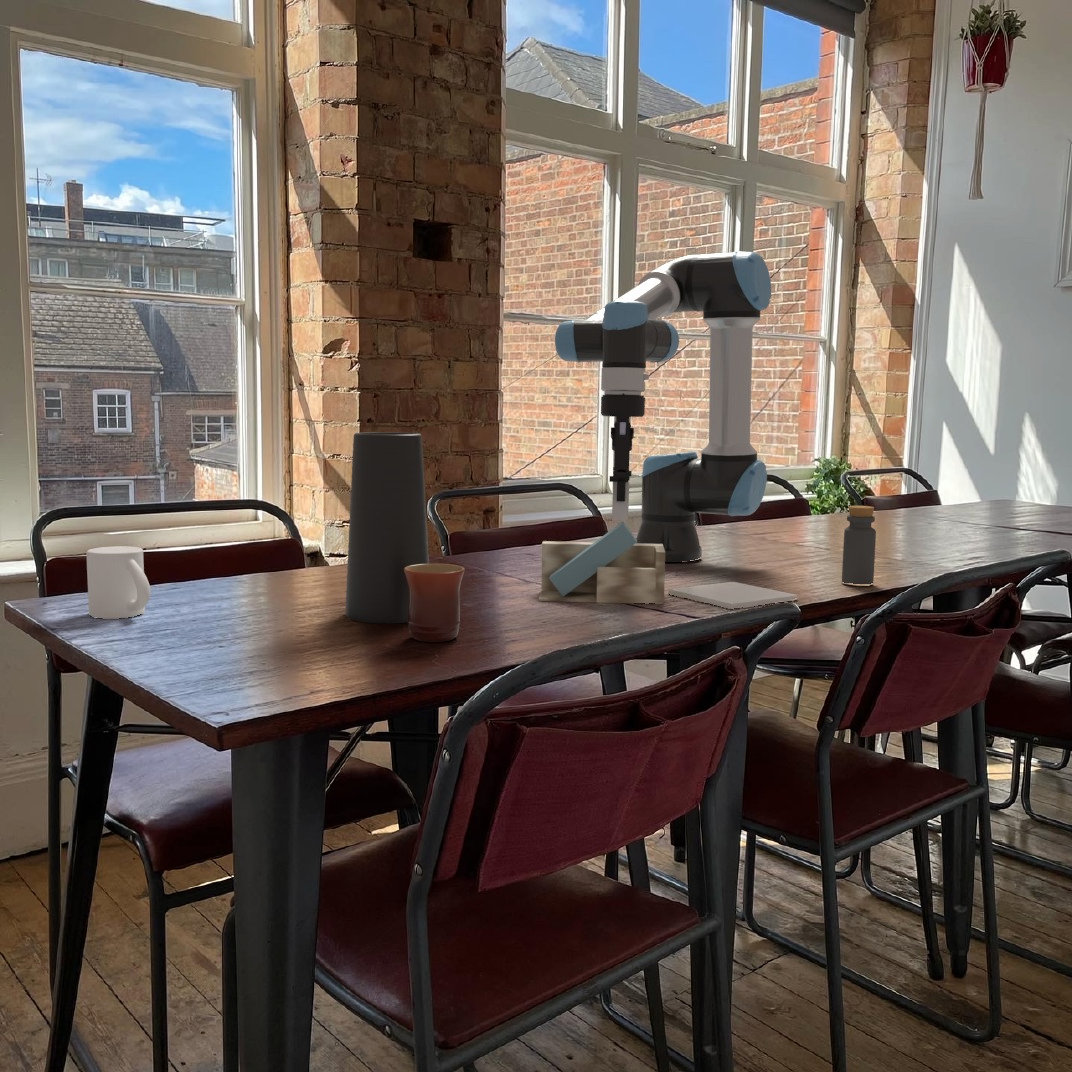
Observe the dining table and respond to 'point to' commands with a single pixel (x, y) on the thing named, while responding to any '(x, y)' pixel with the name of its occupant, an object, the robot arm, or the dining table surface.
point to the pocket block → (608, 575)
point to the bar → (593, 558)
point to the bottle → (859, 546)
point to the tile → (732, 594)
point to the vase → (385, 525)
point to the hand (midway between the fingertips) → (619, 517)
